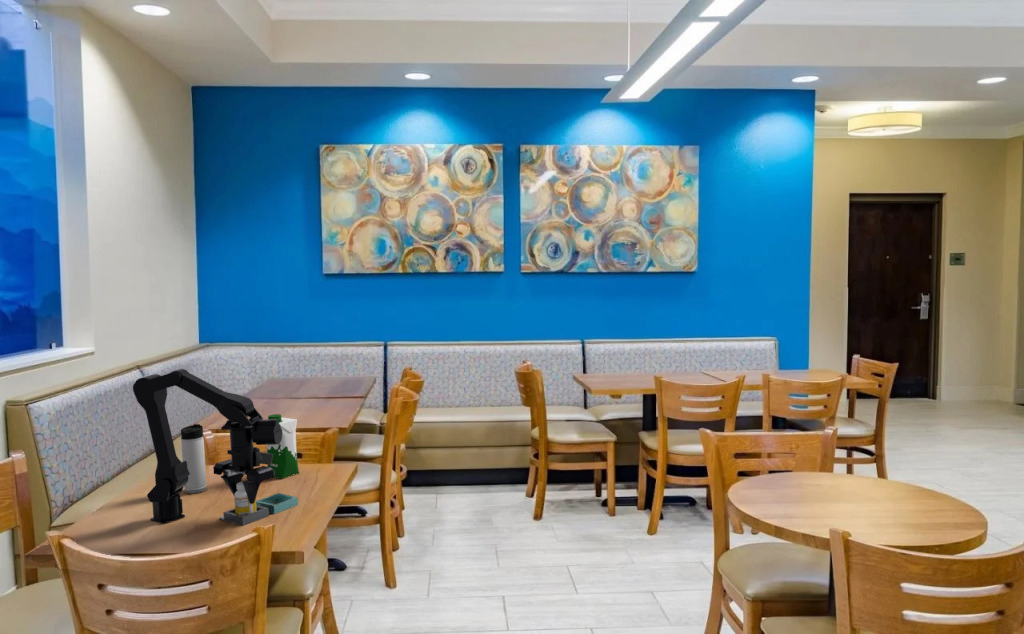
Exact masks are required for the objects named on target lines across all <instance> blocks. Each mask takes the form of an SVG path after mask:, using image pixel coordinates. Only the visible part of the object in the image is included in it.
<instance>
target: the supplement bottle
mask: <svg viewBox="0 0 1024 634" xmlns="http://www.w3.org/2000/svg"><path fill="white" fill-rule="evenodd" d="M237 490H238V491H236V492H235V494H234V495H233V497H234V508H235V512H236V514H238V515H241V516H245V515H247V514H250V513H253V512H256V511H257V508H256V501H257V498H256V499H255V502H254V503H253V504H250V502H249V500H248V497H247V494H246V491H245V488H244V485H243V482H239V483H237Z"/></svg>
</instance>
